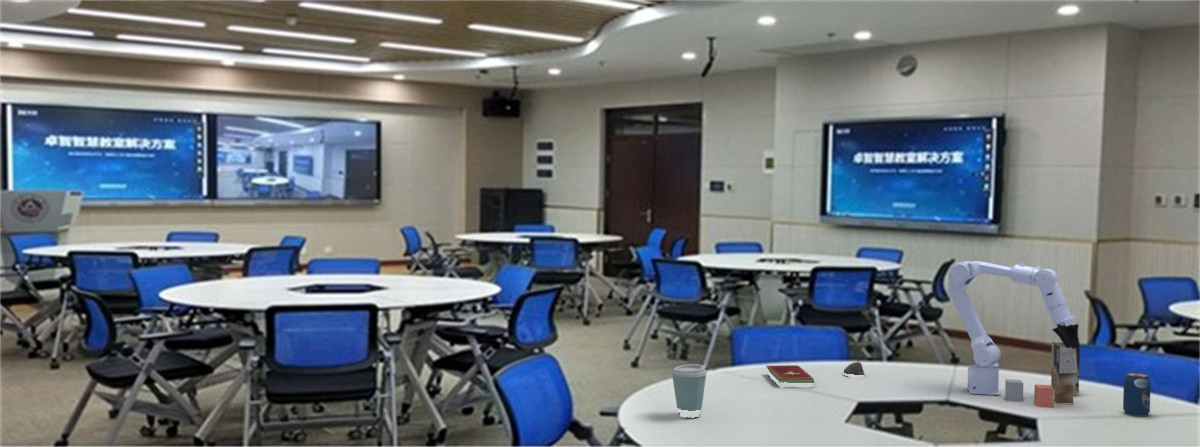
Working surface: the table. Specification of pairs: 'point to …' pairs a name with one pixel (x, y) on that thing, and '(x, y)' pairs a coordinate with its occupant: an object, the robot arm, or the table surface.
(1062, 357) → the coffee box
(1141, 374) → the soda can
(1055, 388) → the walnut block
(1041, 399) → the red block
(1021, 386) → the grey block
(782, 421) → the table surface
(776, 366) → the hardcover book
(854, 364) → the sword in stone
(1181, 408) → the table surface
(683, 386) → the disposable coffee cup
